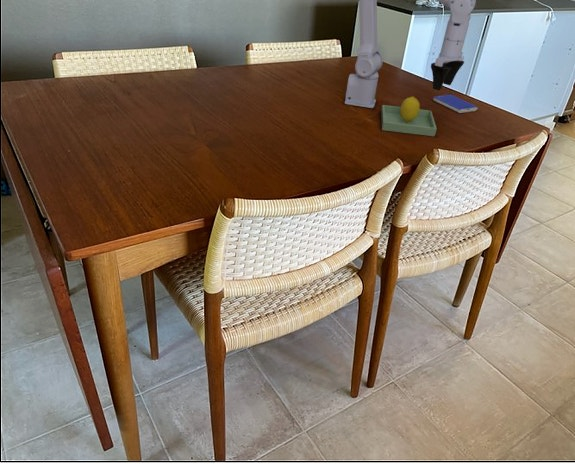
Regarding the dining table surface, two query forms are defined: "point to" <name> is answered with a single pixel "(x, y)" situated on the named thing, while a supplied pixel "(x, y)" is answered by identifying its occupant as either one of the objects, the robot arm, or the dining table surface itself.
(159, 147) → the dining table surface
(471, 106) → the hard drive
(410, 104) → the lemon
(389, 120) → the tray
